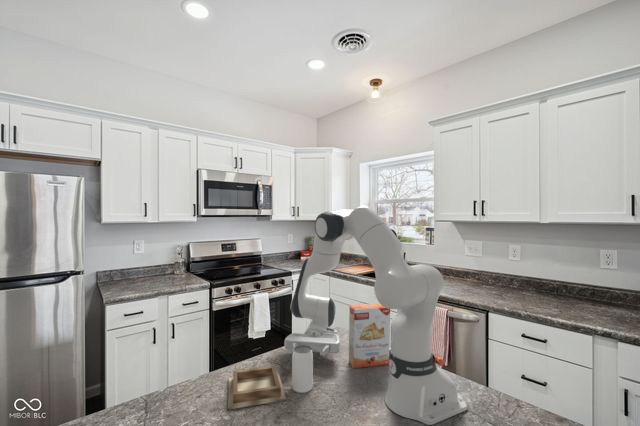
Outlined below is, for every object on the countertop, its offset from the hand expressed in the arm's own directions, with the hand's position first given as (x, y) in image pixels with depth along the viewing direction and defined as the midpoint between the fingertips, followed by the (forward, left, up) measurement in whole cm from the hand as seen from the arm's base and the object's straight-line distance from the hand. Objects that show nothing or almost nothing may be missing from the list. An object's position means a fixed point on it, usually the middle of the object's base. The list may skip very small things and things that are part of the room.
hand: (308, 352), depth 102 cm
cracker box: (-23, -1, -7) cm, 24 cm away
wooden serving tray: (+18, +5, -7) cm, 20 cm away
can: (+4, +8, -7) cm, 12 cm away
